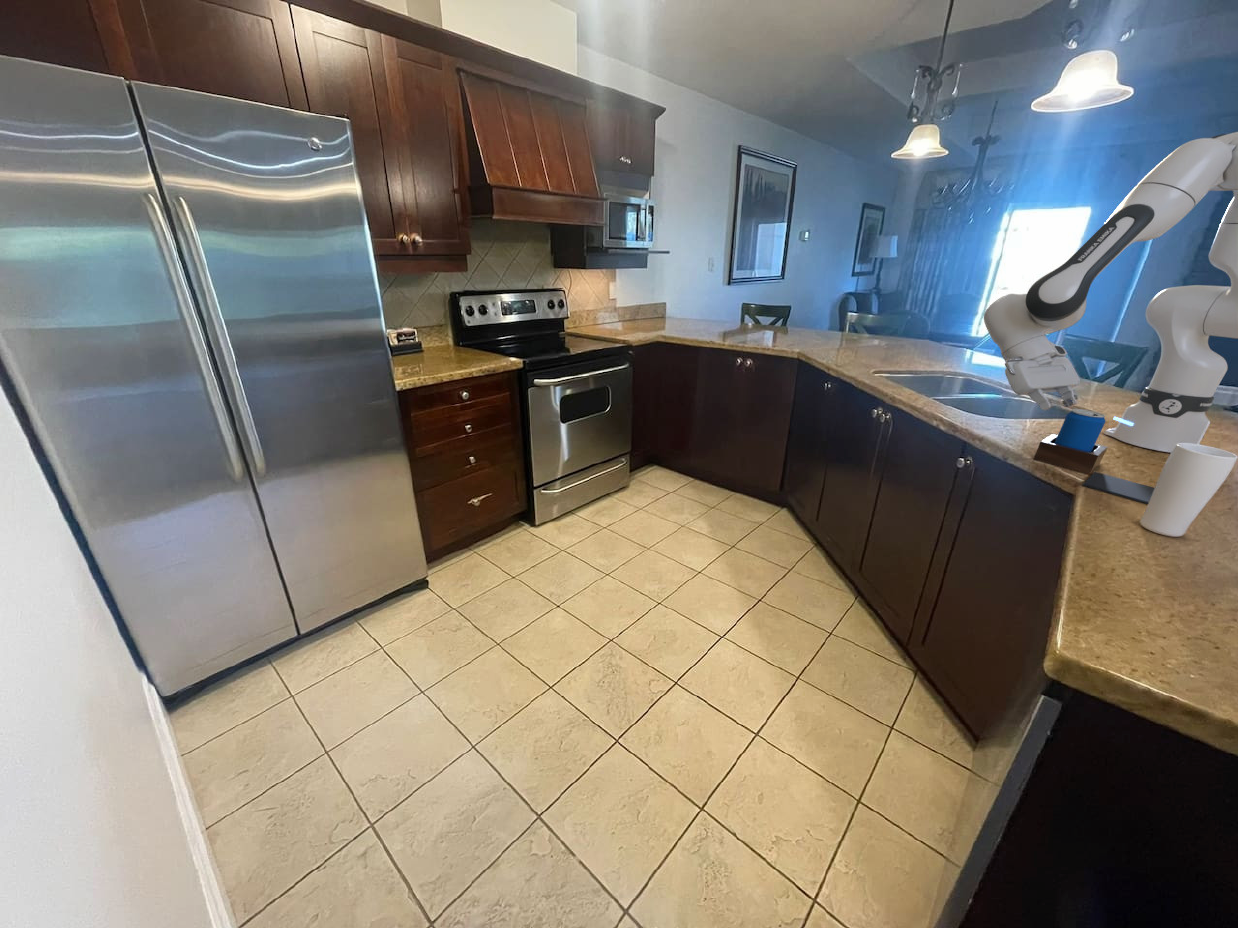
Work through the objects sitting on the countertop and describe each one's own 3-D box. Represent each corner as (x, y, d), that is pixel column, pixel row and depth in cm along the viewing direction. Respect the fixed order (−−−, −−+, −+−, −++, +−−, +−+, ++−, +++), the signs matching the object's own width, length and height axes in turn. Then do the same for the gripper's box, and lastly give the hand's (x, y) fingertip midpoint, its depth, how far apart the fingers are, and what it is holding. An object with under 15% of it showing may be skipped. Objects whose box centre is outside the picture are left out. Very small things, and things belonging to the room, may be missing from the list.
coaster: (1093, 473, 104) (1094, 471, 104) (1165, 492, 96) (1166, 490, 96) (1082, 485, 98) (1083, 483, 97) (1157, 507, 90) (1159, 505, 90)
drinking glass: (1124, 523, 83) (1167, 444, 77) (1143, 517, 86) (1186, 440, 80) (1177, 543, 77) (1228, 460, 71) (1196, 536, 80) (1247, 455, 74)
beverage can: (1091, 469, 106) (1116, 418, 102) (1059, 465, 107) (1081, 415, 103) (1072, 458, 112) (1094, 410, 107) (1041, 455, 113) (1062, 407, 109)
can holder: (1044, 450, 116) (1052, 433, 114) (1099, 464, 109) (1107, 446, 107) (1032, 459, 111) (1040, 441, 109) (1089, 474, 103) (1098, 455, 102)
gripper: (1016, 350, 107) (1048, 403, 103) (1068, 348, 115) (1100, 397, 110) (989, 366, 113) (1018, 417, 109) (1040, 362, 120) (1069, 410, 116)
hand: (1060, 407), depth 110 cm, fingers open, 8 cm apart
